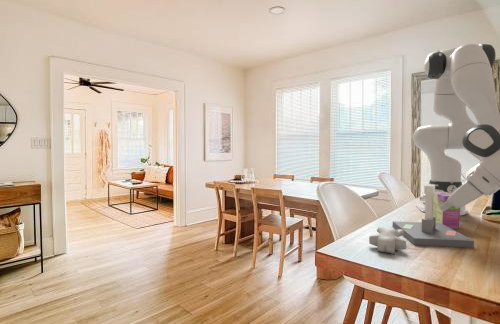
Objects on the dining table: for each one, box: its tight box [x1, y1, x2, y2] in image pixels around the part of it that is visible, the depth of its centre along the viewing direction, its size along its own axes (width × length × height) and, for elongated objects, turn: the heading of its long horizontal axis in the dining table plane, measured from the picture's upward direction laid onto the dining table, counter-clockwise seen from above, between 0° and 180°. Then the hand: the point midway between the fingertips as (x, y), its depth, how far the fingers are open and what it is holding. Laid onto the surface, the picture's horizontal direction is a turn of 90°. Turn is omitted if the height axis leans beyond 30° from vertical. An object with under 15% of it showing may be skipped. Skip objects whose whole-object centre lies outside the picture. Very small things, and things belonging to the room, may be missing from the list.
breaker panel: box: [392, 216, 475, 249], centre depth 94 cm, size 20×16×6 cm
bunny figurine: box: [368, 226, 407, 255], centre depth 84 cm, size 10×5×15 cm
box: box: [433, 192, 461, 230], centre depth 108 cm, size 10×6×12 cm, turn 168°
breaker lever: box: [423, 183, 435, 227], centre depth 94 cm, size 3×4×14 cm
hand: (441, 208), depth 92 cm, fingers closed
